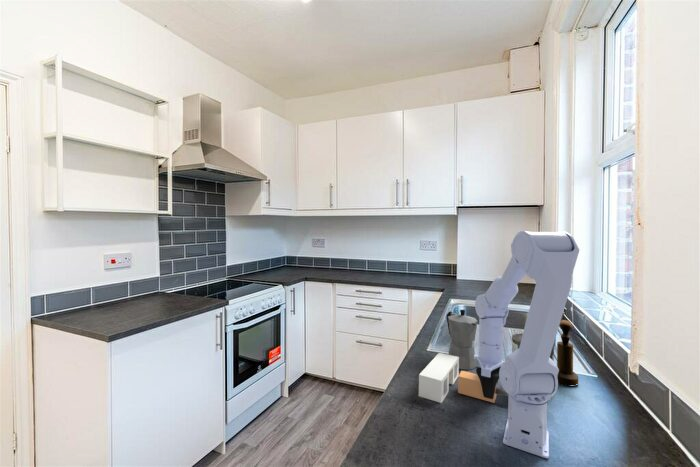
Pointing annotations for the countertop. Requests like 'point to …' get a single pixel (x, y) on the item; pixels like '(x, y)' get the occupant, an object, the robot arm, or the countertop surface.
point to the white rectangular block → (438, 377)
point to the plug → (475, 387)
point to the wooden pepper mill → (565, 357)
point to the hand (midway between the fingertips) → (489, 393)
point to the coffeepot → (462, 338)
